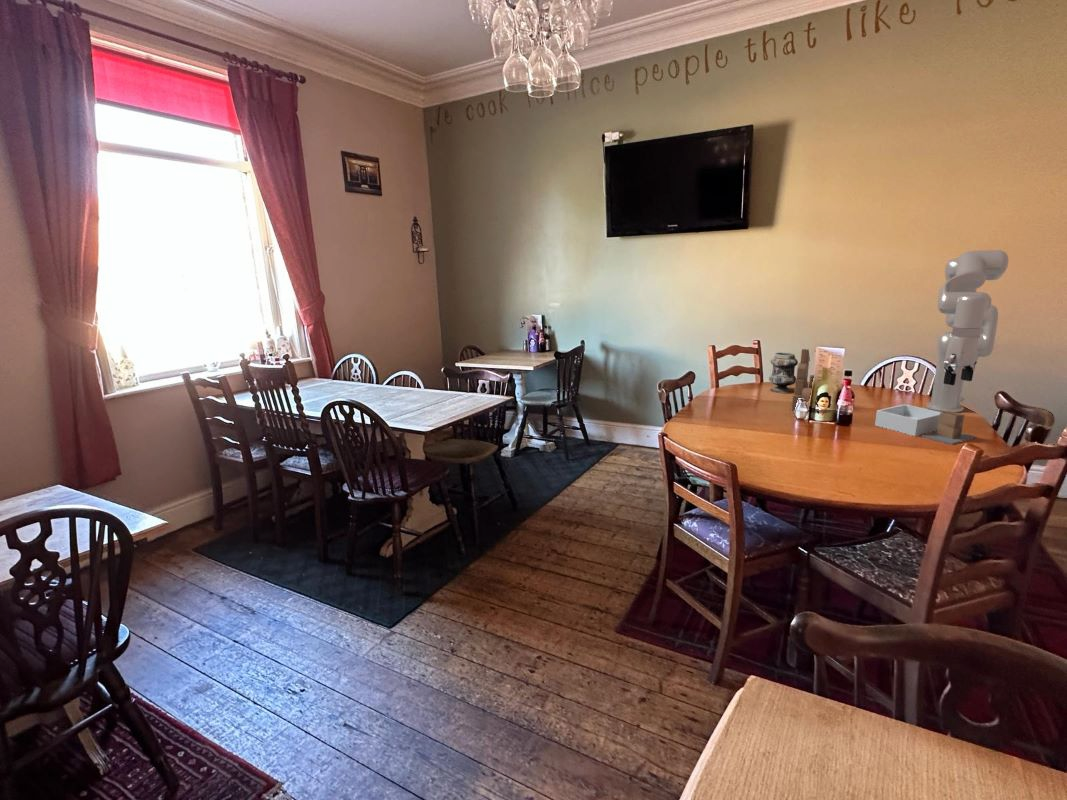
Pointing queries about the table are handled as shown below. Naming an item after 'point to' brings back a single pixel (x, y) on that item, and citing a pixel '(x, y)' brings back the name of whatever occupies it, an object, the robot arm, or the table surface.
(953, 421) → the walnut block
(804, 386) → the wooden toy
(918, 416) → the box
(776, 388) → the apothecary jar
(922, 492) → the table surface
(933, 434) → the slate mat
